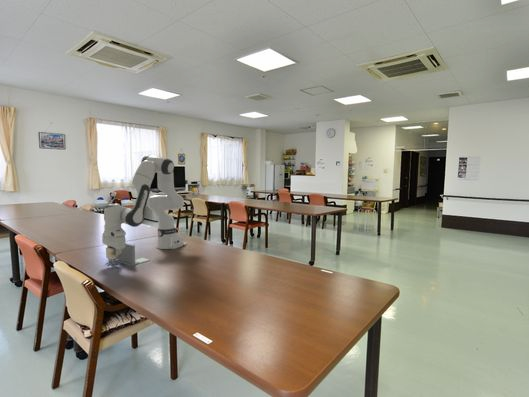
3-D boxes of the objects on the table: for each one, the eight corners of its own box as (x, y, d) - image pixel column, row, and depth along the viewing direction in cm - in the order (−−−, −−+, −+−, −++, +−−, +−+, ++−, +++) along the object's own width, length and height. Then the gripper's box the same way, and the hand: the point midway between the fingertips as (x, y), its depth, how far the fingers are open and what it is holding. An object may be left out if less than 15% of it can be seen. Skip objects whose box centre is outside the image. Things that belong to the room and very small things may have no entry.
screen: (124, 259, 185) (124, 240, 183) (138, 263, 176) (137, 244, 175) (116, 261, 180) (116, 242, 179) (130, 266, 172) (130, 246, 171)
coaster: (143, 258, 187) (143, 257, 187) (149, 260, 183) (149, 259, 183) (133, 261, 181) (133, 260, 181) (139, 263, 177) (139, 262, 177)
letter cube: (116, 255, 176) (115, 245, 176) (121, 257, 173) (121, 247, 172) (106, 257, 171) (105, 247, 171) (111, 259, 168) (111, 249, 167)
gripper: (98, 229, 174) (99, 251, 175) (116, 234, 162) (117, 258, 164) (109, 227, 179) (110, 249, 180) (127, 232, 167) (128, 255, 169)
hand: (113, 253), depth 172 cm, fingers closed on letter cube, 6 cm apart
